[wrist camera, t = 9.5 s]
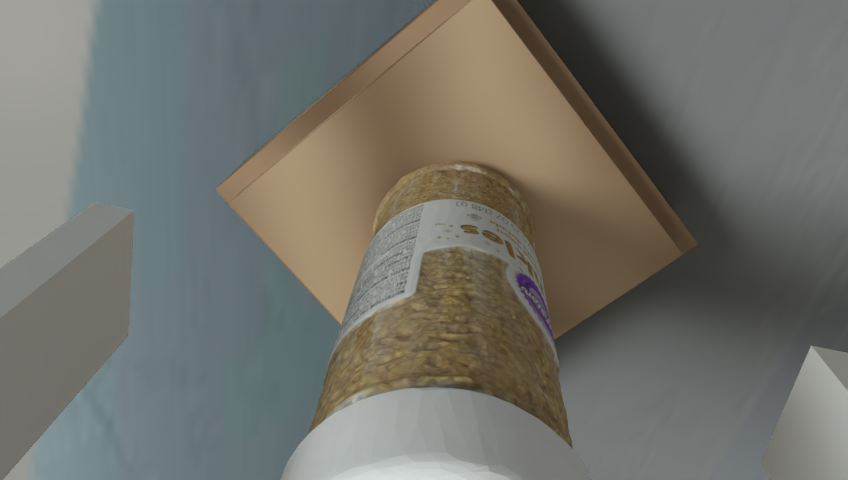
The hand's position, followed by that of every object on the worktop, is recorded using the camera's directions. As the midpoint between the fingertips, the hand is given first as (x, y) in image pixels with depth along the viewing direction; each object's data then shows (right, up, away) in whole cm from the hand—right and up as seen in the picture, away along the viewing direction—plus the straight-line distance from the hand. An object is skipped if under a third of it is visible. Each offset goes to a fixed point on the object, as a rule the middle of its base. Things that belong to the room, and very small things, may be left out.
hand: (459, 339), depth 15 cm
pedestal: (0, +4, +10) cm, 11 cm away
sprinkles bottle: (0, +2, +7) cm, 7 cm away
